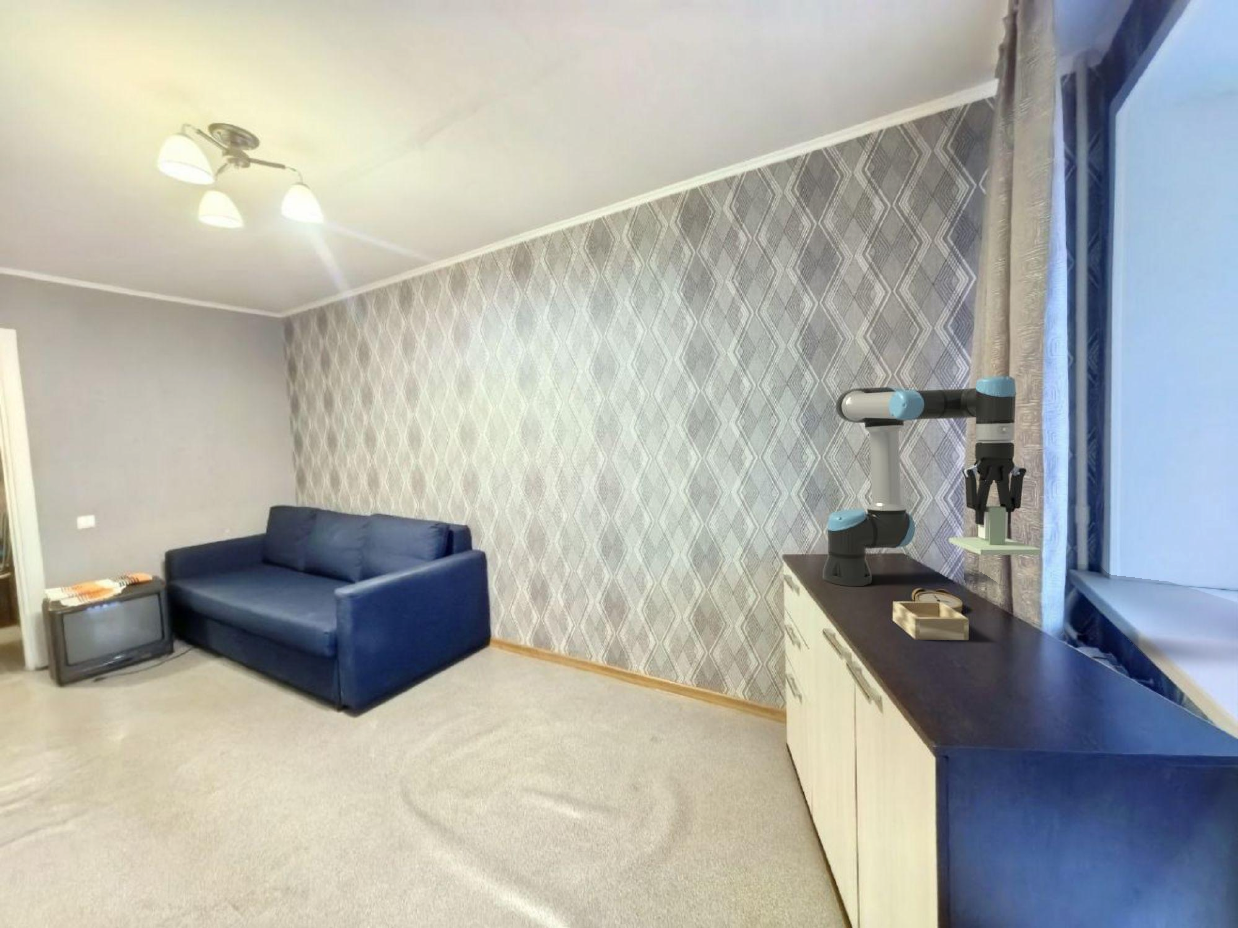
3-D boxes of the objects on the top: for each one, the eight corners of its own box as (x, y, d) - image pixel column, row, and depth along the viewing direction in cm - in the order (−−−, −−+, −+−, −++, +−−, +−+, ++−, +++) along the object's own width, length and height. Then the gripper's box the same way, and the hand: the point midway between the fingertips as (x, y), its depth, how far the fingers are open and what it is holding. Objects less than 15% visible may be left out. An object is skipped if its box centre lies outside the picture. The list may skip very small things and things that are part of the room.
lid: (949, 542, 129) (949, 503, 128) (1003, 541, 128) (1004, 502, 127) (980, 554, 116) (981, 511, 115) (1040, 554, 115) (1042, 510, 114)
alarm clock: (923, 607, 135) (905, 581, 149) (922, 623, 136) (904, 596, 150) (970, 609, 132) (947, 582, 147) (968, 626, 134) (946, 597, 148)
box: (892, 623, 131) (892, 601, 131) (940, 624, 130) (941, 601, 130) (915, 643, 119) (915, 618, 119) (968, 643, 118) (968, 619, 118)
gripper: (967, 443, 117) (965, 541, 119) (1043, 441, 116) (1040, 540, 117) (949, 442, 125) (947, 534, 126) (1020, 440, 123) (1018, 534, 125)
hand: (992, 537), depth 122 cm, fingers closed on lid, 3 cm apart
